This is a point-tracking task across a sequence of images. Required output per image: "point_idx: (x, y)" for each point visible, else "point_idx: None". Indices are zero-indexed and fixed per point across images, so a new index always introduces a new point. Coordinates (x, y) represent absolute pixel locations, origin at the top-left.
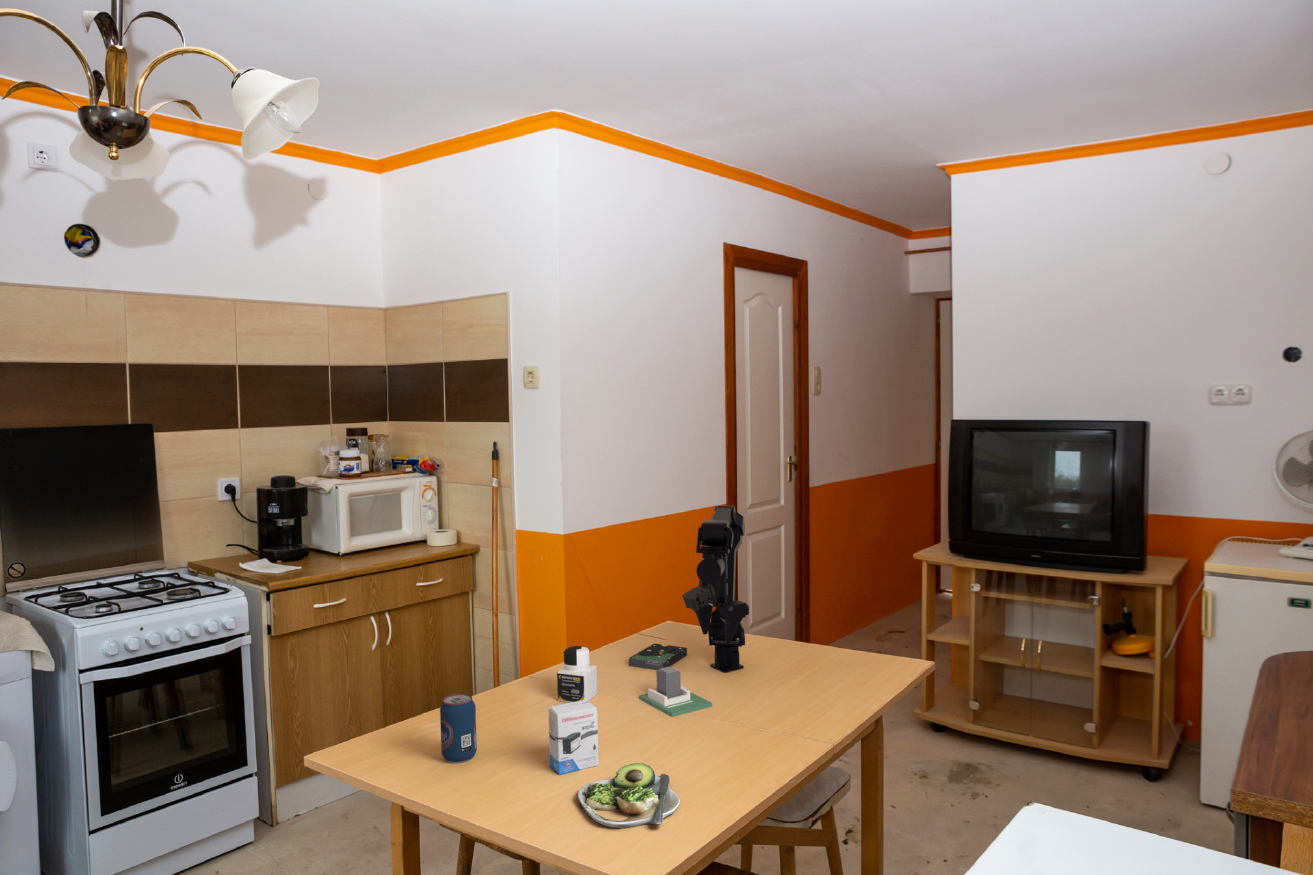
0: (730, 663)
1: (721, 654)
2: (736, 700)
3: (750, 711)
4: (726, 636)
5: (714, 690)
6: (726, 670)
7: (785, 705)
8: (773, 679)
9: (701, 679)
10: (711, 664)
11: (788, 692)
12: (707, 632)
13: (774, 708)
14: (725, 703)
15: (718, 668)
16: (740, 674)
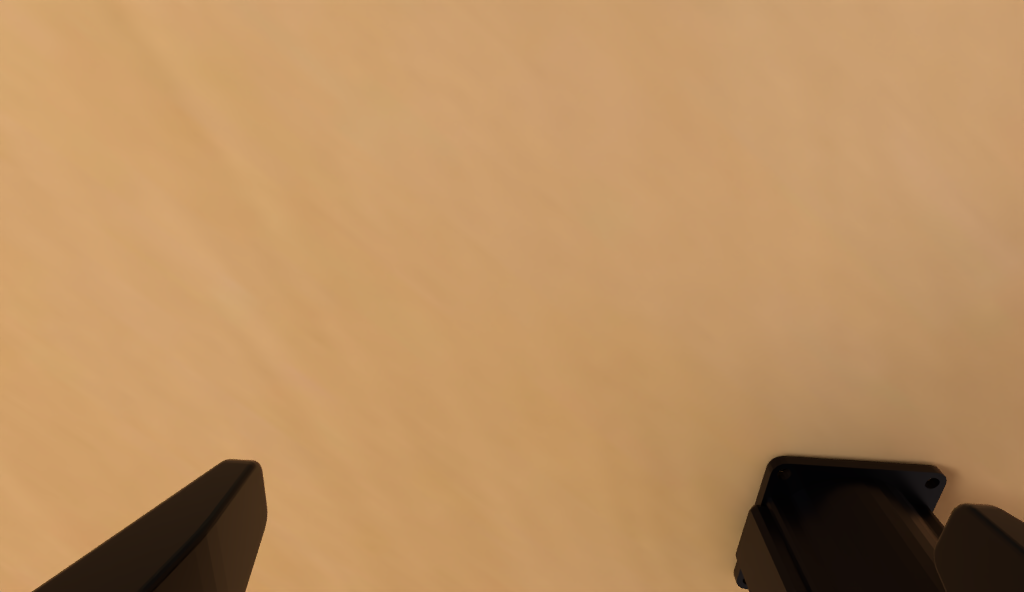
0: (772, 533)
1: (873, 559)
2: (280, 164)
3: (17, 85)
4: (114, 547)
5: (560, 180)
6: (768, 475)
7: (32, 347)
8: (464, 566)
9: (812, 263)
10: (937, 482)
11: None
12: (943, 579)
13: (8, 260)
14: (268, 48)
15: (842, 465)
16: (669, 500)
